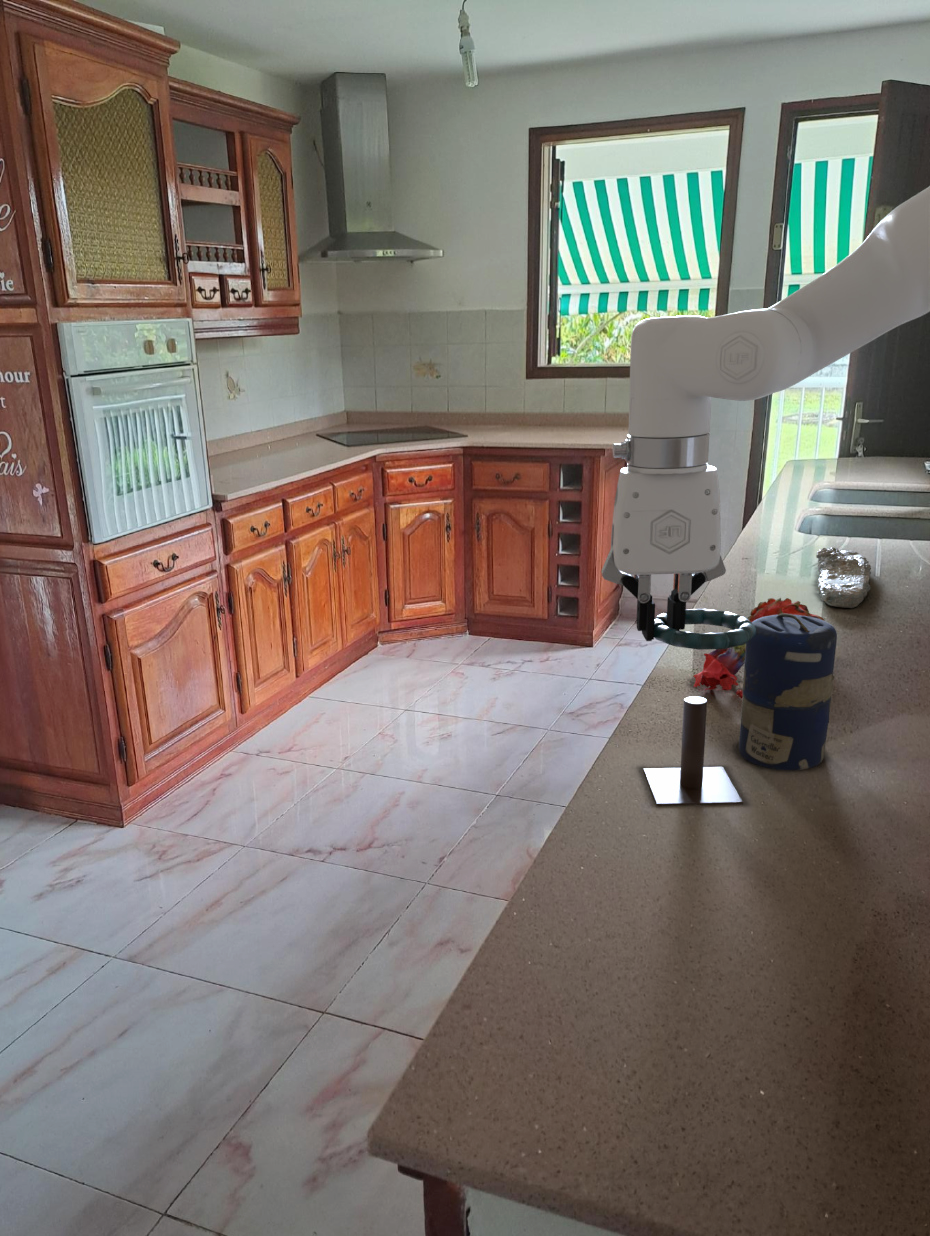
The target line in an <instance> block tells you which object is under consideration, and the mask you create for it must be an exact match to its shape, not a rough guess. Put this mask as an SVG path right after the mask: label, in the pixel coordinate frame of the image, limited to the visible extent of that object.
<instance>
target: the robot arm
mask: <svg viewBox="0 0 930 1236" xmlns="http://www.w3.org/2000/svg"><path fill="white" fill-rule="evenodd" d="M928 313H930V185H929V186H928V187H926V188H924V189H923V190H922V191H920V192H917V193H916V194H915V195H913V196H911V197H910V198H909V199H907V200H905V201H904V202H902V203H900V204H899V205H898V206H896V207H895V208H893V209H892V210H891V211H890V212H889V213H887V214H886V216H884V217H883V218H882V219H881V220H880V221H879V222H878V223H877V224H876V225H875V227H874V228H873V229H872V230H871V232H870V233H869V235H868V236H867V237H866V238H865V240H863V242H862V243H861V244H860V245H859V246H857V248H855V250H853V251H852V252H851V253H849V254H848V255H847V256H846V257H845V258H843V259H842V260H841V261H839V262H838V263H837V264H836V265H833V266H832V267H831V268H830V269H828V270H826V272H824V273H823V274H821V275H820V276H818V277H817V278H815V279H813V280H812V281H810V282H809V283H807V284H806V285H804V286H802V287H800V288H799V289H798V290H796V291H794V292H793V293H791V294H789V295H788V296H786V297H785V298H783V299H782V300H780V301H778V302H776V303H775V304H773V305H771V306H770V307H768V308H757V309H749V310H742V311H737V312H733V313H732V312H731V313H727V314H723V315H722V314H721V315H717V316H711V317H705V316H701V315H676V316H660V317H658V316H657V317H648V318H645V319H643V320H640V321H639V322H638V323H636V325H634V328H633V330H632V333H631V337H630V338H631V339H630V356H629V357H630V360H629V361H630V363H629V396H628V397H629V400H628V431H627V433H628V434H626V439H624V441H621V442H620V443H613V444H612V458H613V459H618V458H619V459H621V460H624V461H625V463H627V467H626V466H625V467H622V468H621V469H620V471H619V475H618V480H617V486H616V490H615V496H614V504H613V513H612V523H611V536H610V549H609V552H608V554H607V556H606V559H605V561H604V563H603V565H602V568H601V570H600V575H601V576H602V578H603V579H604V580H605V581H607V582H611V583H613V584H616V585H619V586H623V587H624V588H625V589H626V590H627V591H628V592H629V593H630V594H631V595H632V596H633V597H635V598H636V604H637V605H636V630H637V631H638V632H641V634H642V636H643V638H644V640H645V641H646V642H652V641H653V640H655V638H654V624H655V618H656V603H655V602H654V600H653V595H652V594H651V592H652V591H651V590H652V588H651V587H652V586H651V584H652V575H672V574H673V582H672V583H673V584H672V586H673V588H672V590H670V591H671V592H670V594H669V596H668V597H667V603H666V612H667V627H670V628H673V629H675V630H678V631H685V629H686V625H685V616H686V609H687V602H688V601H689V600H690V599H691V597H692V595H693V594H695V592H697V590H699V589H700V588H701V587H702V586H703V585H704V584H705V583H707V582H710V581H712V580H715V579H717V578H720V577H723V576H724V575H725V574H726V572H727V569H726V566H725V563H724V560H723V558H722V555H721V551H722V550H721V549H722V548H721V547H722V535H721V534H722V519H721V518H722V517H721V516H722V515H721V493H720V485H719V483H720V482H719V475H718V470H717V469H718V468H717V467H715V466H713V465H710V464H709V451H710V450H709V449H710V431H711V413H712V398H715V399H722V400H729V401H737V402H749V401H756V400H759V399H762V398H765V397H768V396H770V395H773V394H775V393H779V392H783V391H785V390H787V389H789V388H791V387H793V386H795V385H797V384H799V383H800V382H802V381H804V380H805V379H807V378H809V377H811V376H813V375H815V374H816V373H818V372H820V371H821V370H823V369H825V368H827V367H829V366H830V365H832V364H833V363H835V362H837V361H839V360H841V359H842V358H844V357H846V356H848V355H850V354H851V353H853V352H855V351H857V350H858V349H860V348H862V347H864V346H866V345H867V344H869V343H871V342H873V341H875V340H876V339H877V338H879V337H882V336H883V335H884V334H886V333H888V332H890V331H892V330H893V329H895V328H897V327H899V326H902V325H904V324H906V323H908V322H911V321H913V320H916V319H918V318H920V317H922V316H924V315H926V314H928Z"/></svg>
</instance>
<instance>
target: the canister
mask: <svg viewBox="0 0 930 1236" xmlns="http://www.w3.org/2000/svg"><path fill="white" fill-rule="evenodd" d="M752 624H753V625H754V626H755V628H756V633H755V635H754V636H753V637H752V638H751V639H750V640H749V641H748V642H747V643H746V652H745V663H744V665H743V679H742V689H741V690H742V692H743V696H742V699H741V712H740V714H741V715H740V726H739V740H738V741H739V742H738V751H739V753H740V756H741V757H742V758H743V759H744V760H746V761H747V762H749V763H752V764H754V765H756V766H759V767H762V768H767V769H772V770H779V771H799V770H807V769H810V768H815V767H816V766H818V765H820V764H821V763H822V762H823V760H824V758H825V753H826V745H827V744H826V743H827V737H828V728H829V723H830V714H831V705H832V693H833V687H834V684H833V681H834V679H835V676H834V669H835V659H836V652H837V651H836V650H837V641H838V632H837V630H836V628H835V626H833V625H832V624H831V623H830V622H828V621H826V620H825V621H823V620H821V619H818V618H814V617H809V616H802V615H792V614H787V613H783V614H779V615H771V616H765V617H761V618H759V619H756V620H754V621H753V622H752Z"/></svg>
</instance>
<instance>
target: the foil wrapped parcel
mask: <svg viewBox="0 0 930 1236" xmlns="http://www.w3.org/2000/svg"><path fill="white" fill-rule="evenodd" d="M815 557H816V559H817V562H818V563H817V571H818V576H819V577H818V578H817V583H816V585H817V590H818V595H820V599H821V602H822V601H823V602H824V603H825V604H827V605H828V606H832V607H836V608H845V609H854V608H857V607H858V606H859V605H860V604H861V603H863V601H864V599H865V598H866V597H867V595H868V592H869V591H870V590H871V589H872V588H871V584H869V583H870V580H871V573H872V572H871V570H872V565H871V564H869V560H867V557H865V556H863V555H862V554H861V553H859V552H857V551H854V550H847V549H846V550H844V549H839V548H836V547H833V546H832V547H830V548H826V547H822V548H821V549H819V550H817V552H816V555H815Z"/></svg>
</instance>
